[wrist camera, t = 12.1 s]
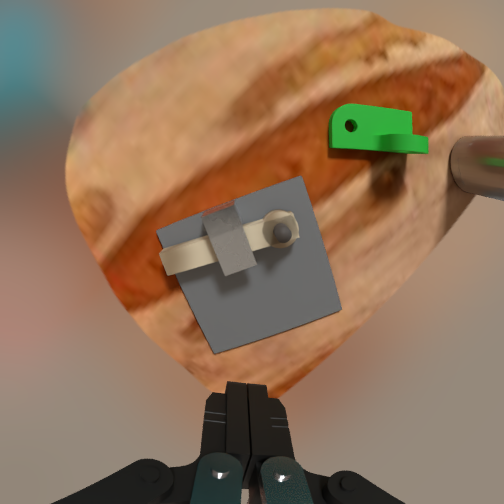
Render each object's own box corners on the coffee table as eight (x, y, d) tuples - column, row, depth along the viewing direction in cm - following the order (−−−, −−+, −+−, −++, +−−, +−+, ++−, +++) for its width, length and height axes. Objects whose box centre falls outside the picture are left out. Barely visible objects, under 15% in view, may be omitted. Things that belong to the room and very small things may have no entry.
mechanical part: (404, 113, 37) (435, 106, 30) (405, 153, 39) (436, 154, 31) (327, 104, 37) (346, 92, 29) (328, 148, 39) (348, 145, 31)
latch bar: (290, 205, 39) (297, 211, 34) (298, 237, 40) (307, 248, 35) (161, 243, 40) (151, 254, 35) (173, 274, 41) (165, 288, 36)
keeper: (234, 199, 39) (234, 204, 35) (254, 253, 41) (257, 264, 37) (204, 211, 39) (200, 217, 35) (226, 264, 41) (225, 276, 37)
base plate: (300, 175, 39) (301, 175, 38) (340, 306, 45) (342, 309, 44) (157, 229, 40) (155, 231, 40) (214, 350, 46) (214, 353, 45)
